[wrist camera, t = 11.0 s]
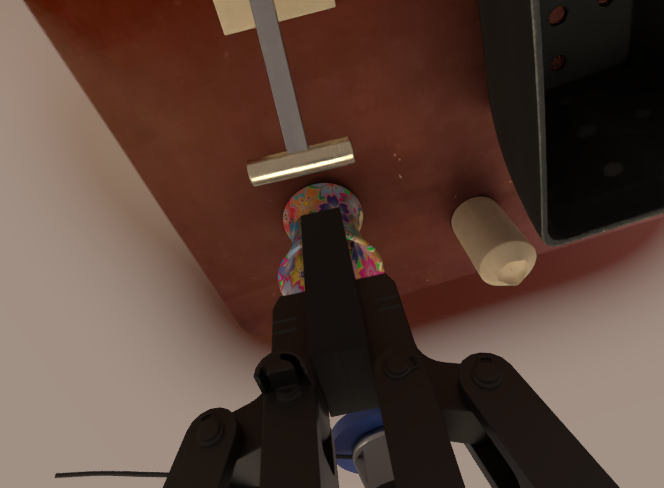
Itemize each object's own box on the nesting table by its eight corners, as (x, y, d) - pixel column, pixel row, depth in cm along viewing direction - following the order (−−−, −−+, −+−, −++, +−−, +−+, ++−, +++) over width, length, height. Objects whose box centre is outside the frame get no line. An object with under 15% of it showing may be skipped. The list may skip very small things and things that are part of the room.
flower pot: (461, 154, 42) (546, 255, 28) (421, -65, 31) (528, -73, 17) (655, 83, 39) (851, 157, 26) (686, -182, 28) (1056, -299, 15)
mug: (273, 180, 41) (270, 241, 33) (364, 170, 42) (385, 229, 33) (288, 271, 48) (288, 341, 40) (366, 262, 49) (383, 330, 40)
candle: (501, 227, 48) (545, 285, 40) (454, 243, 48) (489, 302, 40) (496, 188, 44) (543, 242, 36) (446, 205, 45) (482, 262, 37)
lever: (354, 163, 23) (356, 163, 20) (258, 185, 23) (249, 189, 21) (295, -103, 20) (291, -137, 18) (188, -73, 20) (170, -104, 18)
